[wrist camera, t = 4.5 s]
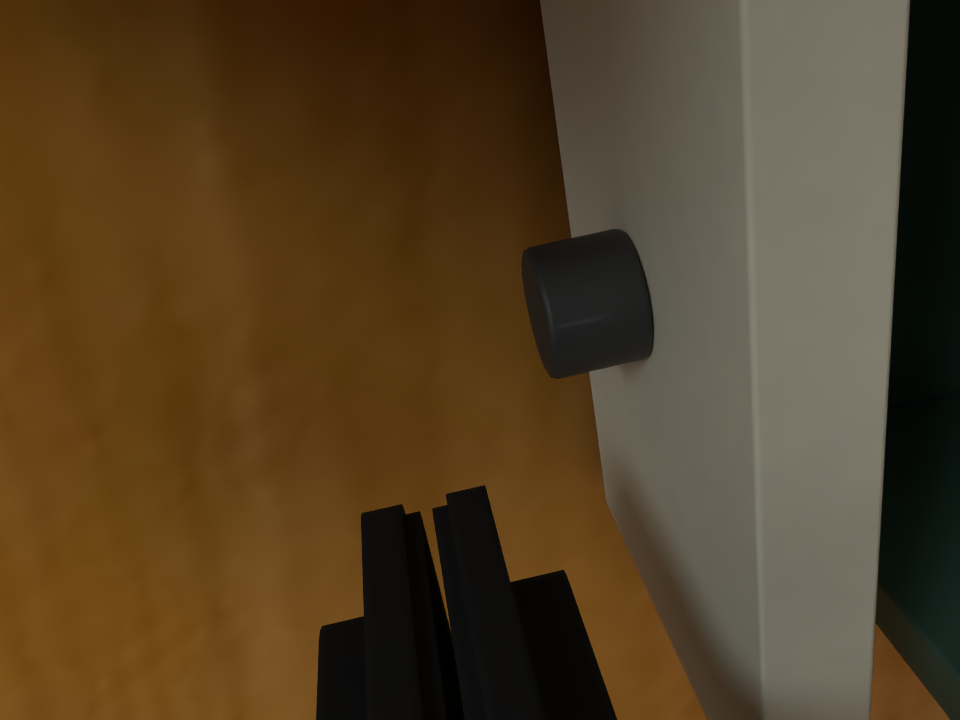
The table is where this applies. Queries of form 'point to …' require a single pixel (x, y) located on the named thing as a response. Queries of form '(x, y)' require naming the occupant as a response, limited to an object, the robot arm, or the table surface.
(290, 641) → the table surface
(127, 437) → the table surface
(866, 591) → the drawer
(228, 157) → the table surface
